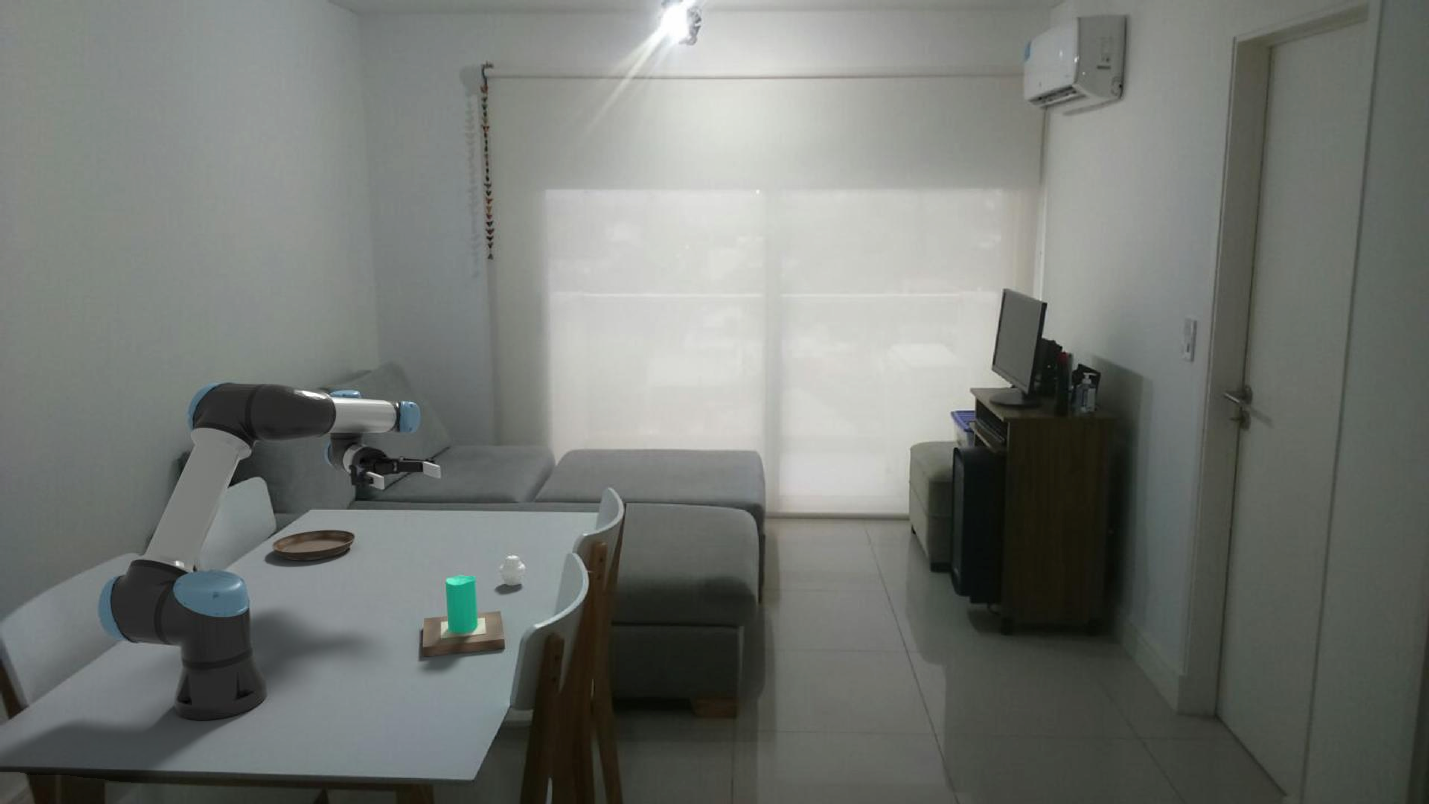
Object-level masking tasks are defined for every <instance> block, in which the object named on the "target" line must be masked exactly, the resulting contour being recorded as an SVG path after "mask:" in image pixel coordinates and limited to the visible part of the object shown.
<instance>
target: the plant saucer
mask: <svg viewBox="0 0 1429 804" xmlns="http://www.w3.org/2000/svg"><path fill="white" fill-rule="evenodd" d="M355 539H356V535H355V533H354V532H351V531H348V530H340V529H321V530H318V529H317V530H310V531H304V532H298V533H293V534H290V535H286V536H284V537H280V538H278V539H277V540H275V541H274V542H273V543H272V544H271V548H272V550H274V551H275V553H276V554H277V555H278V556H280V557H282V558H284V559H287V560H290V561H291V560H292V561H315V560H321V559H327V558H331V557H334V556H337V555H339V554H342V553H344V552H345V551H347V550H348V549H349V547H351V546H352V544H353V543H354V541H355Z"/></svg>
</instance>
